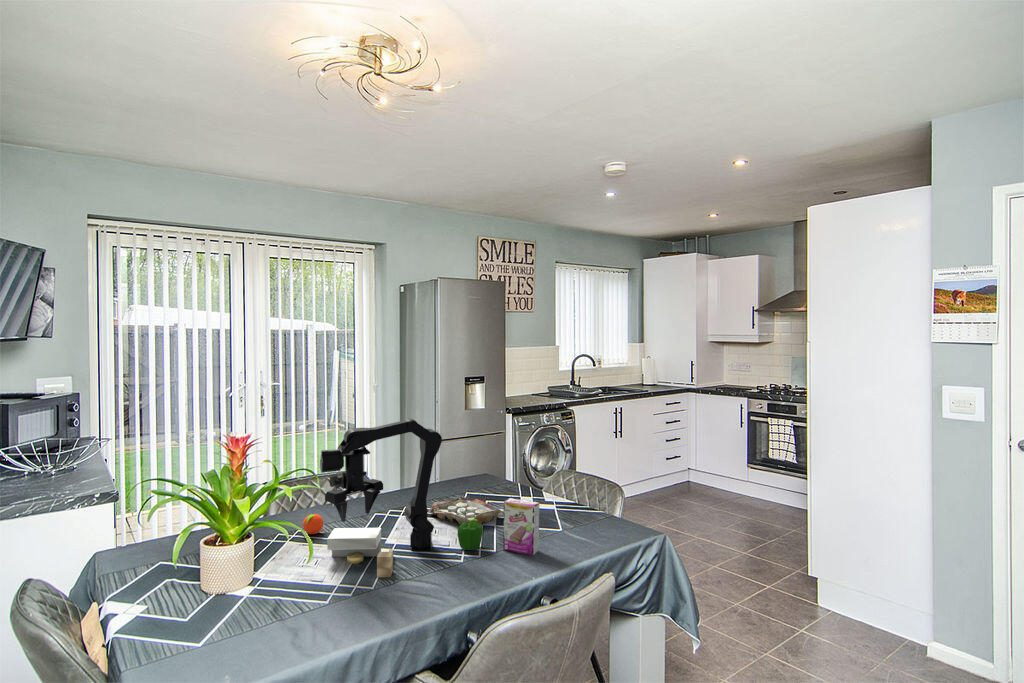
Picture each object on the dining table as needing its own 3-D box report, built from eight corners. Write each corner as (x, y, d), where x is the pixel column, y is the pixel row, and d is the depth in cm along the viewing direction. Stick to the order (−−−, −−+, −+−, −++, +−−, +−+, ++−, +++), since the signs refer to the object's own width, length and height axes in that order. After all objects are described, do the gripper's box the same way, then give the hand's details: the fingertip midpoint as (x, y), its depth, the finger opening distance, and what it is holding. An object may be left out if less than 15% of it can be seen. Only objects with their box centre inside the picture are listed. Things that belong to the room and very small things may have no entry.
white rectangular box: (381, 551, 186) (381, 527, 186) (376, 563, 177) (376, 537, 177) (334, 552, 185) (334, 528, 185) (327, 564, 176) (327, 538, 176)
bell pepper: (452, 548, 190) (452, 518, 189) (470, 541, 196) (470, 512, 195) (469, 555, 184) (469, 524, 184) (487, 548, 190) (487, 518, 190)
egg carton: (416, 516, 223) (416, 502, 222) (455, 502, 239) (455, 490, 239) (472, 534, 204) (471, 519, 203) (510, 517, 220) (510, 504, 220)
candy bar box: (502, 550, 188) (502, 501, 187) (508, 545, 192) (509, 497, 192) (533, 556, 183) (534, 506, 183) (539, 551, 188) (539, 502, 187)
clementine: (315, 539, 197) (315, 518, 196) (297, 537, 198) (297, 517, 198) (327, 530, 204) (327, 511, 204) (309, 529, 206) (309, 510, 206)
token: (364, 557, 182) (364, 552, 182) (361, 564, 177) (361, 558, 177) (349, 557, 181) (349, 552, 181) (345, 564, 176) (345, 558, 176)
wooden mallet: (397, 556, 182) (397, 538, 182) (390, 577, 167) (390, 556, 167) (385, 557, 182) (385, 538, 182) (377, 577, 167) (377, 557, 167)
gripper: (362, 459, 192) (363, 505, 192) (313, 471, 177) (314, 520, 177) (384, 464, 185) (384, 511, 186) (335, 476, 170) (336, 528, 171)
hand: (355, 517), depth 180 cm, fingers open, 9 cm apart
